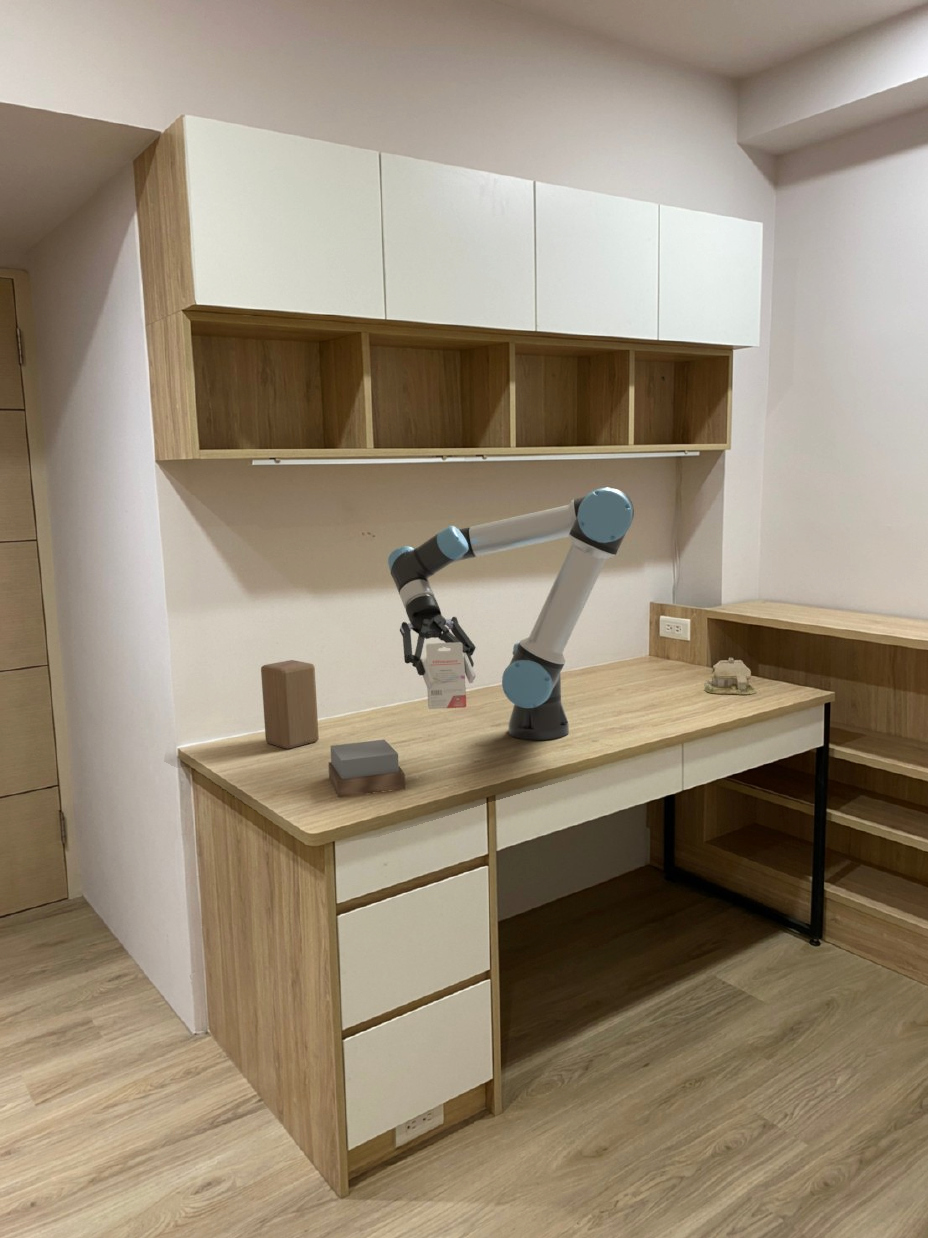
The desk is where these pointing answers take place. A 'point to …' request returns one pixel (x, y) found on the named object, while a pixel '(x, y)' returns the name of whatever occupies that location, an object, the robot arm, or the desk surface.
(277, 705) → the wooden block
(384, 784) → the walnut base slab
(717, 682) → the ceramic model
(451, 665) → the ink cartridge box
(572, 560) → the robot arm
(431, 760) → the desk surface
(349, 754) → the slate grey top slab
